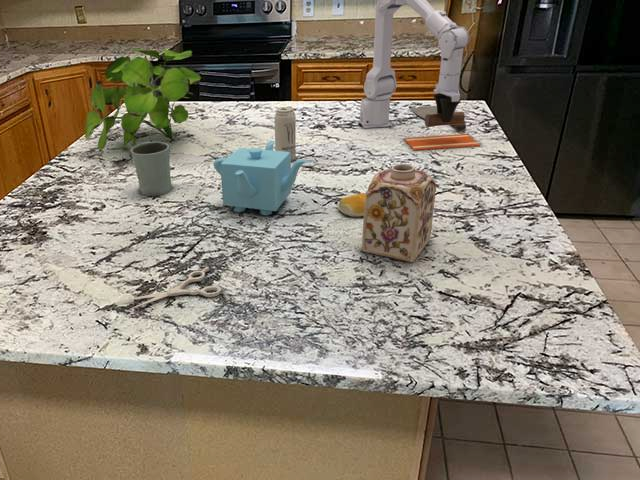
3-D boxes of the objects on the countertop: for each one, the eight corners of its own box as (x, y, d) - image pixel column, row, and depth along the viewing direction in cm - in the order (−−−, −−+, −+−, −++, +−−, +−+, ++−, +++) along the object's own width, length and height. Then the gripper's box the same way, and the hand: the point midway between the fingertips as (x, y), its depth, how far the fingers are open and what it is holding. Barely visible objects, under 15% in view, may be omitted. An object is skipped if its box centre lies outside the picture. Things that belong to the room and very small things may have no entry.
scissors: (229, 288, 119) (131, 317, 112) (229, 292, 119) (132, 320, 112) (207, 266, 127) (115, 291, 120) (208, 269, 127) (116, 295, 120)
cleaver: (472, 130, 195) (473, 123, 194) (443, 133, 194) (444, 126, 193) (434, 108, 220) (434, 102, 219) (408, 110, 219) (408, 104, 218)
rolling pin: (425, 128, 185) (429, 123, 181) (423, 117, 186) (427, 112, 182) (461, 126, 185) (465, 120, 182) (459, 114, 186) (463, 109, 182)
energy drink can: (285, 164, 178) (284, 113, 170) (271, 160, 182) (270, 109, 174) (299, 159, 182) (299, 108, 174) (285, 155, 186) (284, 105, 178)
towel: (414, 150, 183) (414, 149, 182) (404, 139, 192) (404, 138, 192) (480, 146, 183) (480, 144, 183) (466, 135, 192) (466, 133, 192)
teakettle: (211, 200, 159) (206, 145, 151) (275, 186, 164) (274, 132, 157) (240, 228, 144) (236, 168, 136) (310, 211, 150) (310, 153, 142)
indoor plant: (217, 140, 179) (158, 49, 163) (109, 199, 195) (45, 121, 179) (231, 85, 212) (182, 5, 197) (137, 139, 228) (86, 69, 213)
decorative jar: (413, 264, 125) (422, 181, 115) (360, 252, 130) (364, 172, 121) (431, 240, 133) (441, 161, 123) (380, 230, 138) (386, 154, 129)
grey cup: (180, 185, 169) (175, 143, 162) (161, 199, 161) (156, 155, 155) (149, 181, 173) (143, 140, 166) (129, 194, 165) (123, 151, 159)
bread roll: (383, 210, 148) (384, 195, 146) (355, 220, 144) (356, 204, 142) (359, 200, 154) (360, 185, 151) (332, 209, 150) (333, 194, 148)
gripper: (428, 69, 183) (423, 114, 190) (445, 79, 170) (439, 127, 178) (451, 67, 183) (445, 112, 190) (469, 77, 171) (462, 126, 178)
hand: (443, 120), depth 184 cm, fingers closed on rolling pin, 3 cm apart
